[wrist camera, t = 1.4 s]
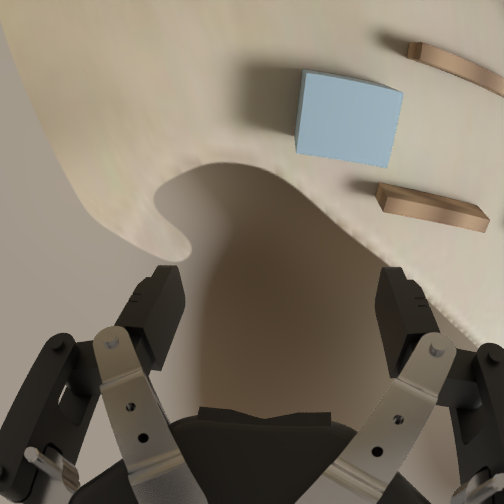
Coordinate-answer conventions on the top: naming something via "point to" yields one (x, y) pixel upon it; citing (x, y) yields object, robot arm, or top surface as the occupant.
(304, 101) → the block
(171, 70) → the top surface
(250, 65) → the top surface
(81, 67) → the top surface
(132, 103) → the top surface
